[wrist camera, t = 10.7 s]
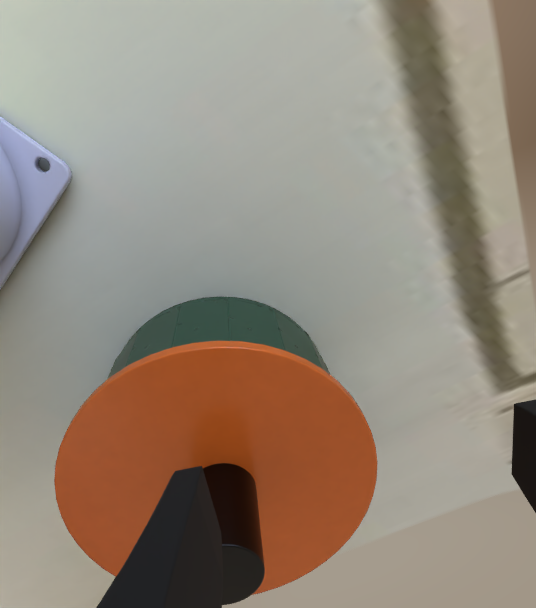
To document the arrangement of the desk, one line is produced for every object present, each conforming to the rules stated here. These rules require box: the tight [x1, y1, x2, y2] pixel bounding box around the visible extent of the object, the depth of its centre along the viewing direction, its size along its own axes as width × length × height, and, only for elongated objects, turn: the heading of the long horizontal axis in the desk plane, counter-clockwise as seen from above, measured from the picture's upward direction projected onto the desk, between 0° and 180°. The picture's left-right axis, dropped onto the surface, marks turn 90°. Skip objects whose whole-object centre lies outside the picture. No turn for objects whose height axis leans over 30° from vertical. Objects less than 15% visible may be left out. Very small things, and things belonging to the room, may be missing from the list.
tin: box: [107, 297, 330, 380], centre depth 19 cm, size 10×10×5 cm
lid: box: [54, 341, 377, 605], centre depth 15 cm, size 11×11×4 cm
